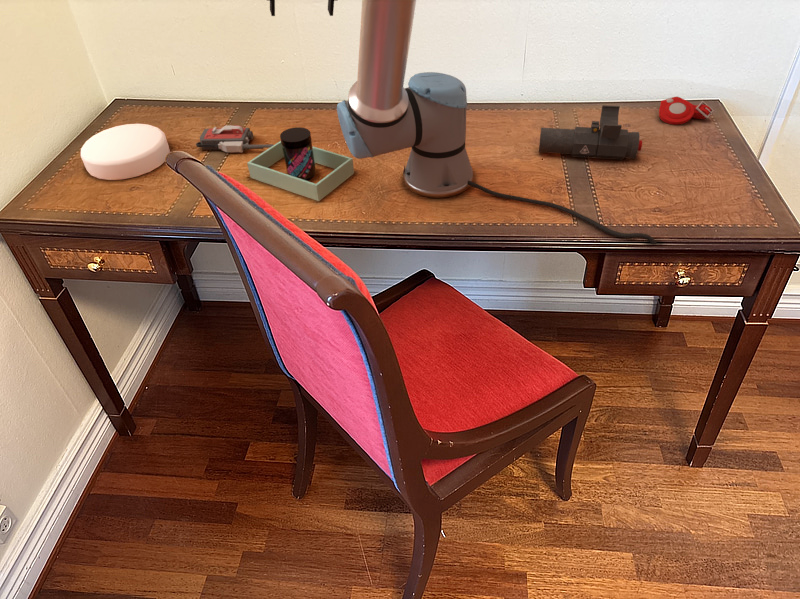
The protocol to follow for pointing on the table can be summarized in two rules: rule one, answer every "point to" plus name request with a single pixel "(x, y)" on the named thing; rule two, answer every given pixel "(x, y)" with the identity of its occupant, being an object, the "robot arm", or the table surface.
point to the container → (125, 151)
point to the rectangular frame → (296, 185)
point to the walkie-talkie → (228, 139)
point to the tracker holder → (682, 111)
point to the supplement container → (298, 153)
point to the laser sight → (593, 139)
